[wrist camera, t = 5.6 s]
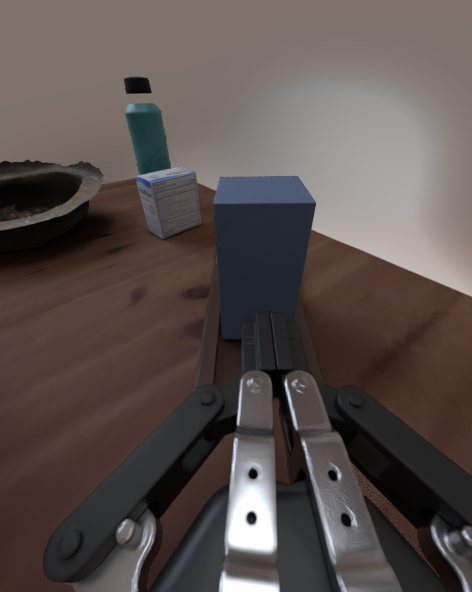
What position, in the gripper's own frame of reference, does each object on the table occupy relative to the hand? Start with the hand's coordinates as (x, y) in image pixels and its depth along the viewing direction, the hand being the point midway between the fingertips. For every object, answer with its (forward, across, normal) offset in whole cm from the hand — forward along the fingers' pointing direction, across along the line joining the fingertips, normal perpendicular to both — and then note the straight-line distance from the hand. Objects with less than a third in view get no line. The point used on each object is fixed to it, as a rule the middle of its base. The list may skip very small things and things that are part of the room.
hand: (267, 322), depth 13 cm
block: (+8, 0, +7) cm, 11 cm away
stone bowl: (+29, +36, +8) cm, 47 cm away
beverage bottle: (+44, +19, +8) cm, 48 cm away
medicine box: (+30, +13, +8) cm, 33 cm away
